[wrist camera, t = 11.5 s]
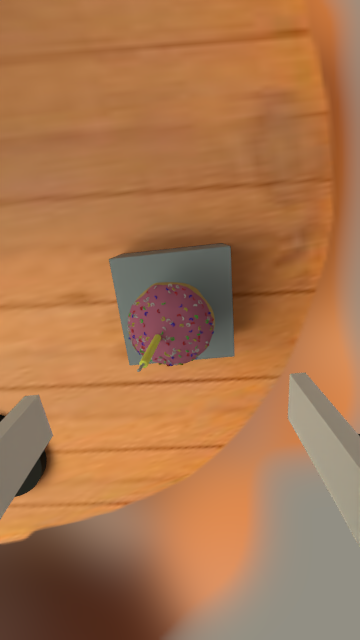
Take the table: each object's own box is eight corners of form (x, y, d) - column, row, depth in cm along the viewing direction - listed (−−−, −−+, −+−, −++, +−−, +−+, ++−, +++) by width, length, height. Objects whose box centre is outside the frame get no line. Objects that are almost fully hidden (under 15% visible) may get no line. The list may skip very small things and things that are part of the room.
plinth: (121, 254, 33) (108, 259, 27) (222, 243, 32) (230, 246, 26) (137, 344, 37) (129, 365, 31) (226, 336, 36) (234, 356, 31)
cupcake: (151, 353, 31) (133, 424, 20) (123, 288, 28) (83, 328, 17) (219, 331, 30) (241, 394, 18) (196, 262, 27) (206, 286, 16)
